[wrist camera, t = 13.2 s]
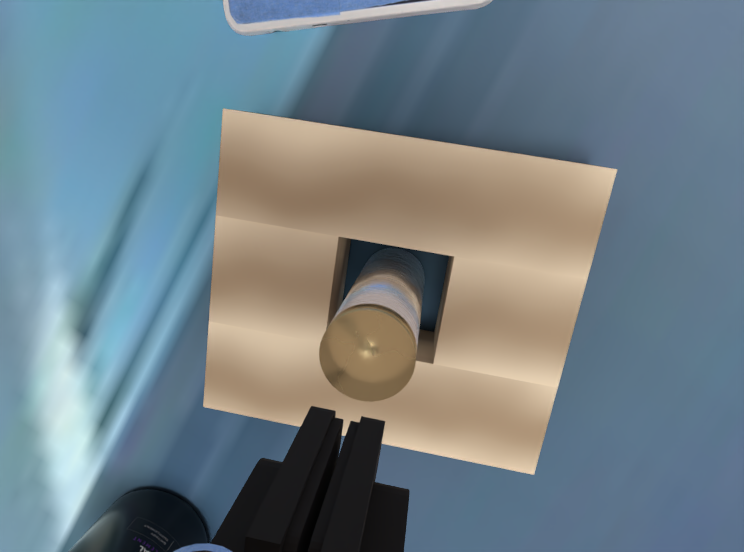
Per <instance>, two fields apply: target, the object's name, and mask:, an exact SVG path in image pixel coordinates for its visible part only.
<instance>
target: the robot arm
mask: <svg viewBox="0 0 744 552" xmlns="http://www.w3.org/2000/svg"><path fill="white" fill-rule="evenodd" d="M335 416H336V411H334V410H329V409H324V408H320V407H315V406H311V407H310V409H309V411H308V413H307V415H306V417H305V419H304V421H303V423H302V425H301V427H300V429H299V431H298V433H297V435H296V437H295V439H294V441H293V443H292V445H291V447H290V449H289V451H288V453H287V455H286V457H285V459H284V461H283V462H279V461H275V460H270V459H265V458H261V459H260V460H259V461H258V463H257V464H256V466H255V468H254V469H253V471H252V473H251V475H250V476H249V478H248V480H247V481H246V483H245V485H244V487H243V488H242V490H241V492H240V493H239V495H238V497H237V499H236V500H235V502H234V504H233V506H232V507H231V509H230V511H229V512H228V514H227V516H226V518H225V519H224V521H223V523H222V525H221V526H220V528H219V530H218V531H217V533H216V535H215V537H214V538H213V540H212V542H211V543H207V544H193V545H189V546H185V547H182V548H180V549H178V550H176V551H174V552H404V543H405V533H406V522H407V512H408V502H409V490H408V489H404V488H399V487H395V486H390V485H385V484H381V483H376V482H375V478H376V473H377V467H378V461H379V455H380V450H381V444H382V438H383V433H384V427H385V421H383V420H378V419H373V418H368V417H363V416H361V419H360V422H355V421H350V424H349V427H348V430H347V433H346V436H345V439H344V442H343V445H342V448H341V451H340V454H339V449H340V442H341V436H342V429H343V419H340V418H335ZM338 455H339V457H338Z"/></svg>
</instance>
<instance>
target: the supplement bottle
mask: <svg viewBox="0 0 744 552" xmlns="http://www.w3.org/2000/svg"><path fill="white" fill-rule="evenodd" d="M207 543H208V540H207V534H206V530H205V528H204V525H203V523H202V521H201V519H200V517H199V516H198V515H197V513H196V512H195V511H194V510H193V509H192V508H191V507H190V506H189V505H188V504H187V503H186V502H184V501H183V500H182V499H180V498H178V497H177V496H175V495H173V494H170V493H167V492H164V491H160V490H154V489H143V490H137V491H133V492H130V493H128V494H126V495H124V496H122V497H121V498H119V499H118V500H117V501H116V502H115V503H114V504H113V505H112V506H111V507H110V508H109V509H108V510H107V511H106V512H105V513H104V514H103V515H102V516H101V517H100V518H99V519H98V520H97V521H96V522H95V523H94V525H93V526H92V527H91V528H90V529H89V530H88V531H87V532H86V533H85V534H84V535H83V536H82V537H81V538H80V540H79V541H78V542H77V543H76V544H75V545H74V546H73V547H72V548H71V549H70V550H69V551H68V552H174V551H176V550H178V549H180V548H182V547H185V546H189V545H193V544H207Z"/></svg>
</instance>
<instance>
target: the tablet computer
mask: <svg viewBox="0 0 744 552" xmlns="http://www.w3.org/2000/svg"><path fill="white" fill-rule="evenodd" d="M492 1H493V0H223V5H224V12H225V16H226V19H227V22H228V24H229V25H230V27H231V28H232V29H233V30H234V31H235V32H236V33H238V34H241V35H244V36H253V35H261V34H268V33H273V32H274V31H293V30H301V29H310V28H316V27H323V26H332V25H341V24H350V23H358V22H366V21H374V20H383V19H391V18H399V17H408V16H416V15H424V14H433V13H443V12H452V11H460V10H470V9H477V8H481V7H484V6H486V5H487V4H489V3H490V2H492Z"/></svg>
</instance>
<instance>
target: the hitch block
mask: <svg viewBox="0 0 744 552" xmlns="http://www.w3.org/2000/svg"><path fill="white" fill-rule="evenodd" d="M616 172H617V169H612V168H606V167H601V166H595V165H589V164H583V163H577V162H570V161H564V160H557V159H551V158H544V157H538V156H531V155H525V154H518V153H512V152H506V151H499V150H493V149H486V148H480V147H473V146H467V145H460V144H454V143H447V142H441V141H434V140H428V139H421V138H415V137H409V136H402V135H396V134H389V133H383V132H376V131H370V130H363V129H357V128H350V127H344V126H337V125H331V124H325V123H318V122H312V121H305V120H299V119H292V118H286V117H279V116H273V115H266V114H260V113H253V112H246V111H238V110H231V109H223V115H222V130H221V145H220V160H219V176H218V191H217V206H216V221H215V236H214V252H213V267H212V282H211V297H210V312H209V327H208V343H207V358H206V373H205V388H204V403H203V407H206V408H211V409H216V410H221V411H226V412H231V413H236V414H240V415H245V416H250V417H255V418H260V419H265V420H270V421H274V422H279V423H284V424H289V425H294V426H299V427H301V425H302V423H303V421H304V419H305V417H306V415H307V413H308V411H309V409H310V407H311V406H315V407H320V408H324V409H329V410H334V411H336V416H335V418H340V419H343V429H342V435H343V436H346V433H347V430H348V427H349V424H350V421H355V422H360V419H361V416H363V417H368V418H373V419H378V420H383V421H385V427H384V433H383V438H382V444H387V445H391V446H396V447H401V448H406V449H411V450H416V451H421V452H425V453H430V454H435V455H440V456H445V457H450V458H455V459H460V460H464V461H469V462H474V463H479V464H484V465H489V466H494V467H499V468H503V469H508V470H513V471H518V472H523V473H528V474H533V475H534V472H535V469H536V465H537V461H538V458H539V454H540V450H541V447H542V443H543V439H544V436H545V432H546V428H547V425H548V421H549V417H550V414H551V410H552V407H553V403H554V399H555V396H556V392H557V388H558V385H559V381H560V377H561V374H562V370H563V366H564V363H565V359H566V355H567V352H568V348H569V344H570V341H571V337H572V333H573V330H574V326H575V322H576V319H577V315H578V311H579V308H580V304H581V300H582V297H583V293H584V289H585V286H586V282H587V278H588V275H589V271H590V267H591V264H592V260H593V256H594V253H595V249H596V245H597V242H598V238H599V234H600V231H601V227H602V223H603V220H604V216H605V213H606V209H607V205H608V202H609V198H610V194H611V191H612V187H613V183H614V180H615V176H616ZM351 239H356V240H362V241H367V242H373V243H379V244H385V245H391V246H396V247H402V248H408V249H414V250H419V251H425V252H431V253H437V254H443V255H448V256H449V259H448V264H447V269H446V274H445V280H444V285H443V290H442V295H441V300H440V305H439V310H438V316H437V321H436V326H435V331H434V332H432V331H426V330H421V329H419V336H418V345H417V354H416V363H415V369H414V372H413V375H412V377H411V379H410V381H409V382H408V384H407V385H406V386H405V387H404V388H403V389H402V390H401V391H400V392H399V393H397V394H396V395H394V396H392V397H390V398H387V399H385V400H380V401H373V402H367V401H360V400H356V399H353V398H350V397H348V396H346V395H344V394H342V393H341V392H339V391H338V390H337V389H336V388H334V387H333V386H332V385H331V383H330V382H329V381H328V380H327V378H326V377H325V375H324V373H323V371H322V368H321V365H320V360H319V348H320V343H321V340H322V337H323V335H324V333H325V331H326V330H327V328H328V326H329V325H330V323H331V321H332V320H333V318H334V316H335V315H336V313H337V311H338V310H339V308H340V306H341V305H342V301H343V294H344V287H345V279H346V272H347V265H348V258H349V251H350V244H351Z"/></svg>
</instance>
